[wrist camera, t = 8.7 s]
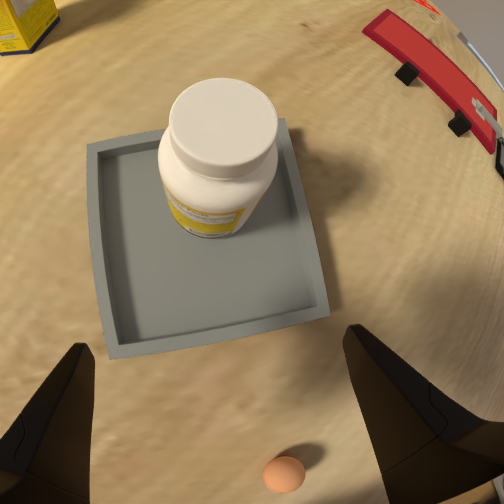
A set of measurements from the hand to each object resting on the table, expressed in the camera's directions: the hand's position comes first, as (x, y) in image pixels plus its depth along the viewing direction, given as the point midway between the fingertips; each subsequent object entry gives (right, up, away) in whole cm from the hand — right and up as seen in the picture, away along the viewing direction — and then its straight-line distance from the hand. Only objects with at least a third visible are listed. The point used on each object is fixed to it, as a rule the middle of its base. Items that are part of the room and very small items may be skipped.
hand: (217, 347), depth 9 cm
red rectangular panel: (+28, +23, +20) cm, 41 cm away
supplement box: (-24, +27, +10) cm, 37 cm away
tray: (-2, +4, +10) cm, 11 cm away
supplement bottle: (-2, +6, +10) cm, 12 cm away
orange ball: (+3, -13, +9) cm, 16 cm away
